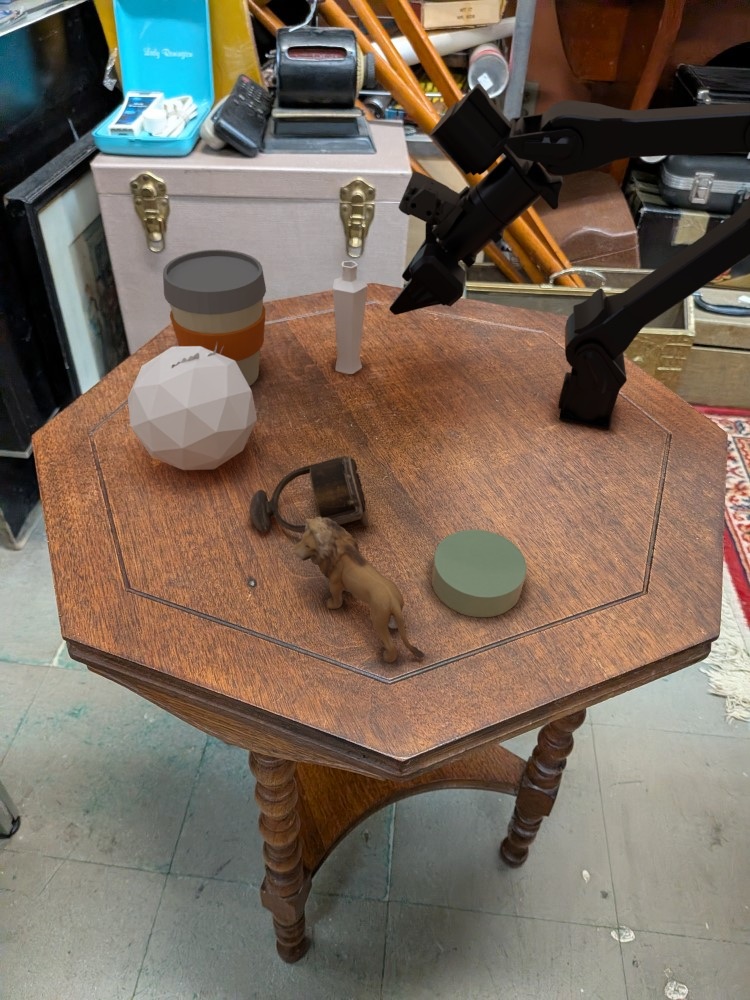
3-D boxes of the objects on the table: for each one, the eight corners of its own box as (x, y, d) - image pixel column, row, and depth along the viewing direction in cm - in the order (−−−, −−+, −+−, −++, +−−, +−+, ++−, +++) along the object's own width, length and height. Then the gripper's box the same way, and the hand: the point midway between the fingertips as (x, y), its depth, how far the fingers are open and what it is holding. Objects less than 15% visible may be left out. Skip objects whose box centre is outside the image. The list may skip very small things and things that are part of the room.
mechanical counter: (363, 524, 70) (385, 447, 76) (236, 494, 71) (268, 419, 77) (358, 561, 76) (379, 487, 82) (241, 533, 77) (270, 461, 82)
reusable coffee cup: (163, 367, 100) (143, 262, 90) (243, 342, 105) (234, 241, 95) (204, 411, 92) (188, 302, 82) (289, 381, 98) (283, 276, 88)
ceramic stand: (527, 561, 75) (532, 541, 73) (513, 627, 68) (519, 607, 66) (442, 541, 76) (445, 520, 74) (421, 603, 70) (424, 583, 68)
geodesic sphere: (204, 354, 91) (140, 297, 78) (299, 386, 86) (249, 332, 73) (152, 461, 89) (77, 421, 76) (247, 500, 85) (185, 466, 71)
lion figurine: (288, 593, 70) (283, 527, 64) (325, 563, 73) (324, 497, 67) (406, 678, 64) (413, 613, 58) (441, 641, 67) (452, 576, 61)
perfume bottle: (368, 361, 103) (372, 259, 93) (358, 377, 100) (360, 273, 90) (338, 355, 104) (339, 253, 94) (327, 370, 101) (326, 267, 91)
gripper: (452, 125, 84) (365, 219, 93) (431, 177, 71) (331, 281, 80) (515, 196, 88) (426, 279, 97) (507, 258, 74) (404, 348, 83)
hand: (398, 294), depth 89 cm, fingers open, 9 cm apart
